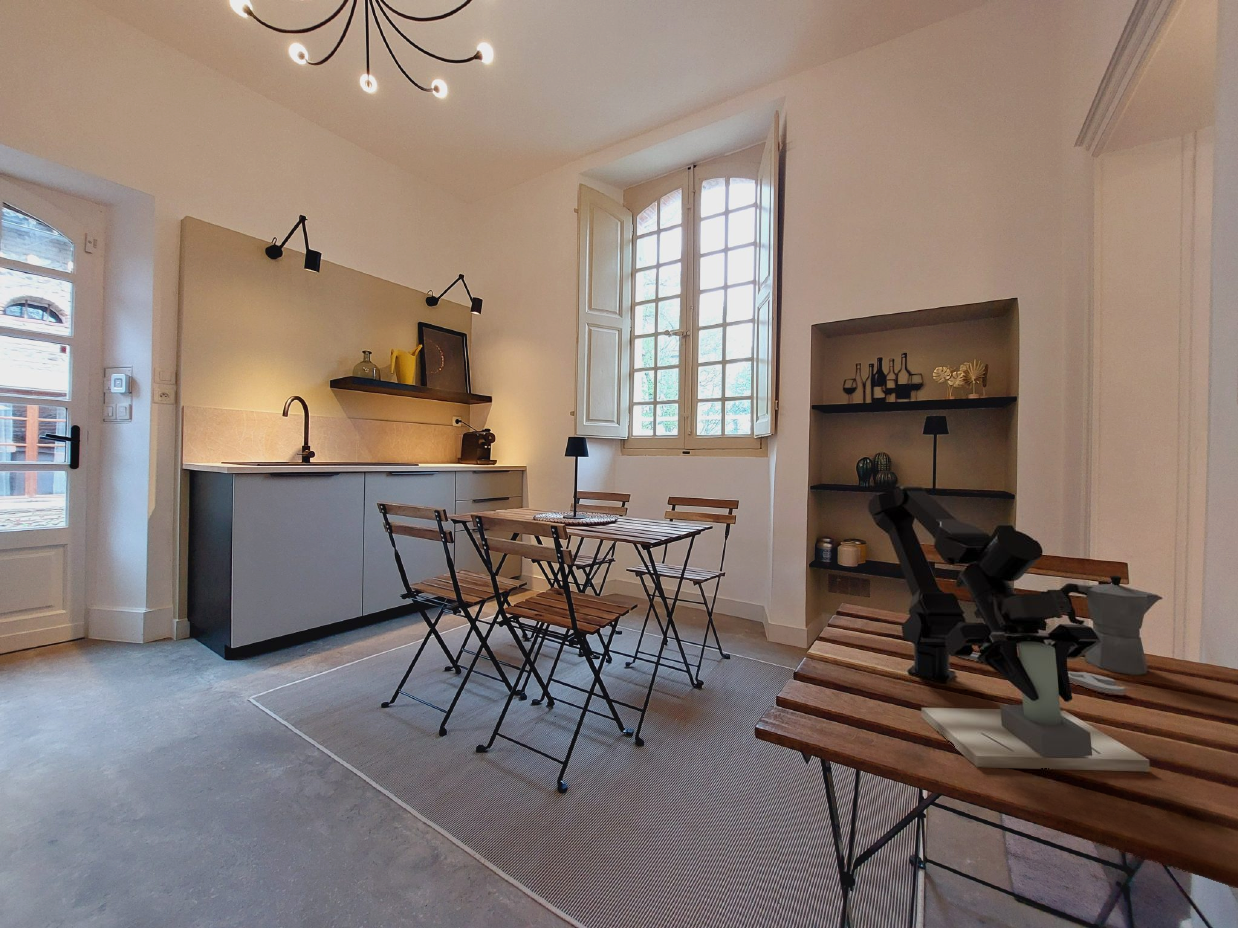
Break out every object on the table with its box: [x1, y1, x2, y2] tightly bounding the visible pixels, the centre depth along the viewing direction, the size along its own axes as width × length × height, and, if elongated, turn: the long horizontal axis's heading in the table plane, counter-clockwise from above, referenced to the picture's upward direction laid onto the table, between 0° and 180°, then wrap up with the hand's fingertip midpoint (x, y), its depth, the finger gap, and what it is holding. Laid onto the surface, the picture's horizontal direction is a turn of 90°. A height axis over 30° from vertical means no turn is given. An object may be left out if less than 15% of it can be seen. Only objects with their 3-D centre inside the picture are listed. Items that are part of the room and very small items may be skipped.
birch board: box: [920, 707, 1150, 773], centre depth 72 cm, size 13×22×2 cm, turn 88°
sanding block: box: [999, 641, 1092, 757], centre depth 70 cm, size 6×8×13 cm
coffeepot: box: [1058, 575, 1163, 676], centre depth 100 cm, size 15×9×18 cm, turn 62°
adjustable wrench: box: [959, 651, 1126, 694], centre depth 97 cm, size 25×6×2 cm, turn 42°
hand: (1052, 700), depth 67 cm, fingers closed on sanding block, 4 cm apart
